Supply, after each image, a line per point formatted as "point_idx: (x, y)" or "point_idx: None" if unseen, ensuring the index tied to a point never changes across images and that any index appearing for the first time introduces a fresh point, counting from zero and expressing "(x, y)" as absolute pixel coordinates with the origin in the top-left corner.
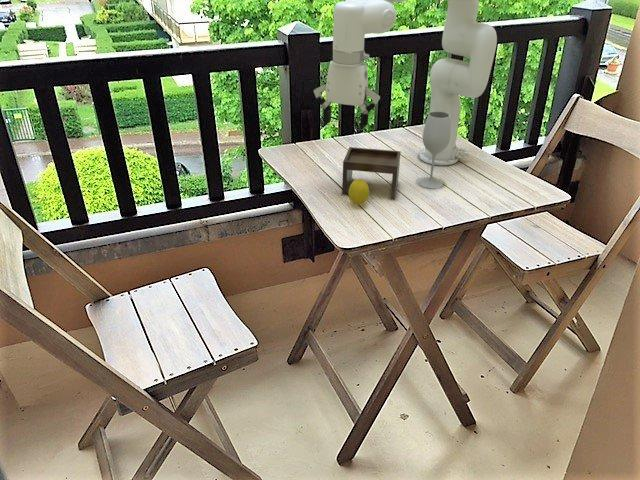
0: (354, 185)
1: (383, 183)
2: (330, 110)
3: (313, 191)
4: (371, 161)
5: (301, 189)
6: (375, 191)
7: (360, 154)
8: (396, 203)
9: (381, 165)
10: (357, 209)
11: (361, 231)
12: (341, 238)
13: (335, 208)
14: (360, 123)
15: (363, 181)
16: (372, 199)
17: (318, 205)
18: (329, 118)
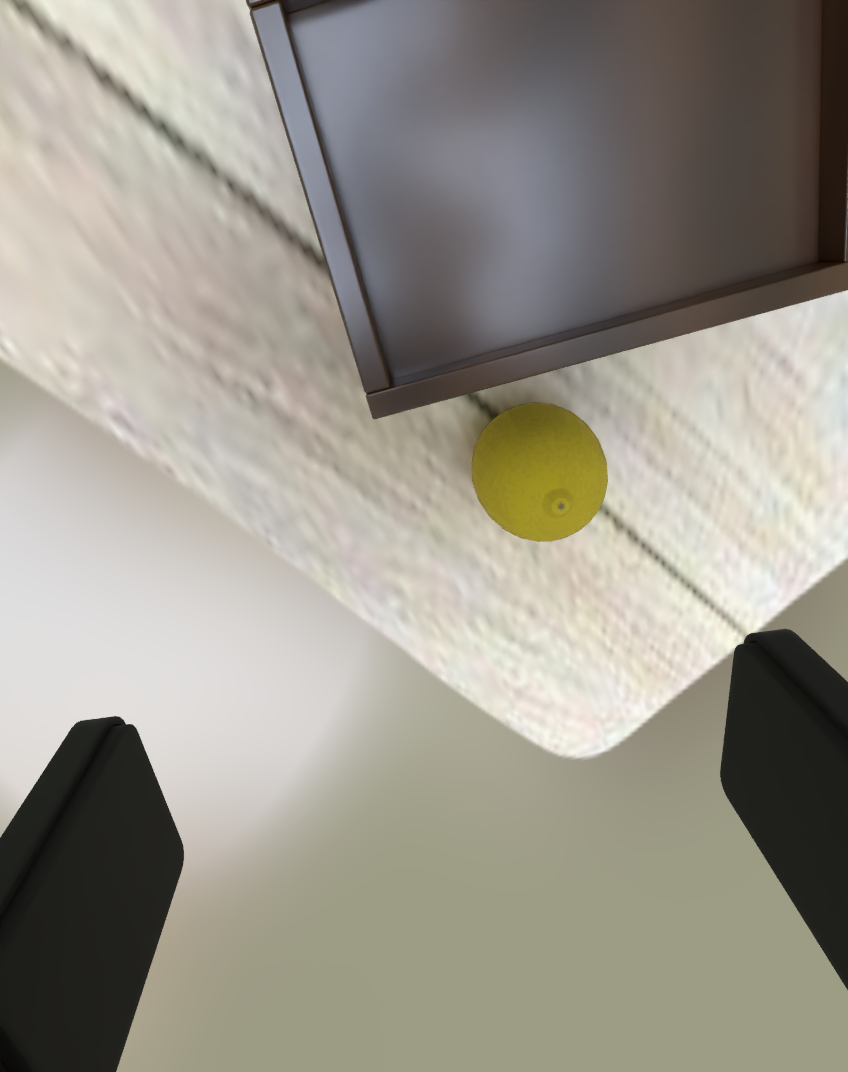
0: (532, 536)
1: None
2: (46, 949)
3: (199, 403)
4: (577, 188)
5: (118, 414)
6: None
7: (409, 41)
8: None
9: (717, 324)
10: None
11: (611, 650)
12: (549, 724)
13: (418, 527)
14: (767, 856)
15: (584, 493)
16: None
17: (322, 539)
18: (132, 834)
